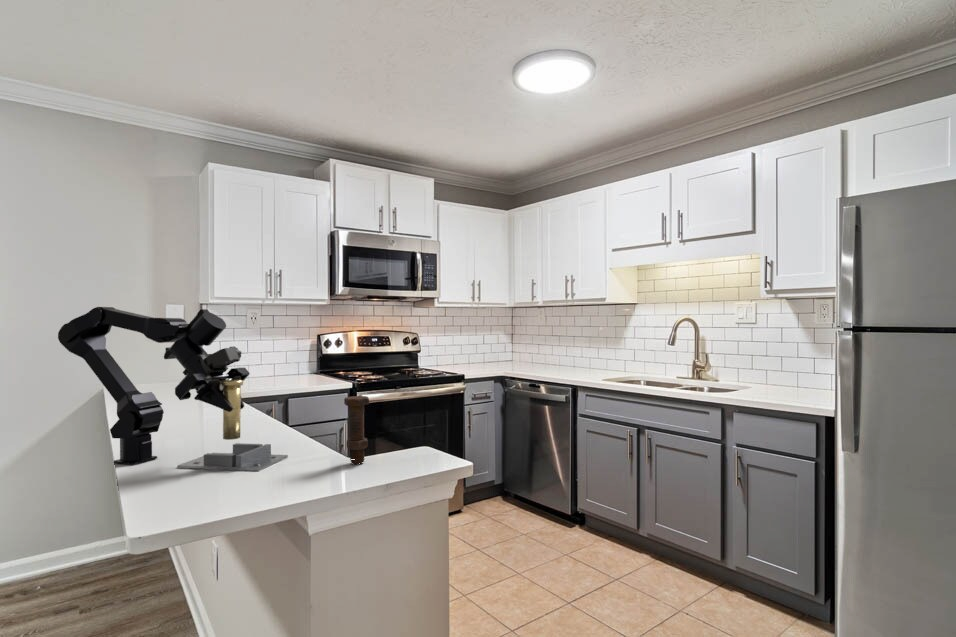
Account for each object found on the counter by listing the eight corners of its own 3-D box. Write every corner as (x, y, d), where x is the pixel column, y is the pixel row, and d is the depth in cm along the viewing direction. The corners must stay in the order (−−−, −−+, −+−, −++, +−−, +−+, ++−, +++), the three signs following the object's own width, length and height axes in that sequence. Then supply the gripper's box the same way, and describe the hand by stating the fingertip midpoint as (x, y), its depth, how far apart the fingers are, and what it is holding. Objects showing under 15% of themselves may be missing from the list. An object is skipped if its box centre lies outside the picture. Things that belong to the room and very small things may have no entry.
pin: (216, 440, 118) (216, 381, 118) (226, 435, 122) (227, 379, 123) (236, 440, 118) (237, 381, 118) (246, 435, 122) (246, 379, 122)
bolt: (373, 460, 122) (372, 395, 123) (366, 466, 117) (365, 398, 118) (348, 460, 123) (348, 395, 123) (341, 466, 118) (340, 398, 118)
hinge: (177, 468, 118) (177, 454, 118) (213, 455, 130) (213, 442, 130) (258, 471, 115) (258, 456, 115) (287, 457, 127) (287, 444, 127)
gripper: (187, 336, 112) (232, 389, 110) (242, 334, 130) (283, 380, 128) (154, 372, 113) (199, 426, 111) (214, 366, 132) (253, 411, 129)
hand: (237, 409), depth 120 cm, fingers closed on pin, 4 cm apart
